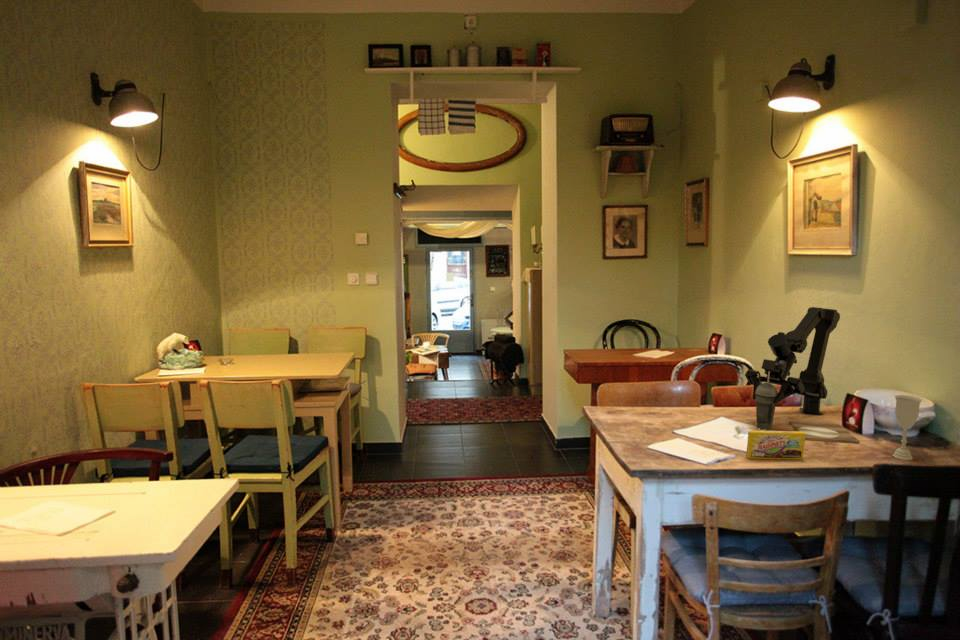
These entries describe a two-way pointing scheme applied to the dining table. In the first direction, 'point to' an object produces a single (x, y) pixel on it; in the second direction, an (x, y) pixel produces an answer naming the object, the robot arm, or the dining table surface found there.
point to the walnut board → (824, 431)
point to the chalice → (906, 421)
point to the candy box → (775, 445)
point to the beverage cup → (765, 404)
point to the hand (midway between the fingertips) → (764, 401)
